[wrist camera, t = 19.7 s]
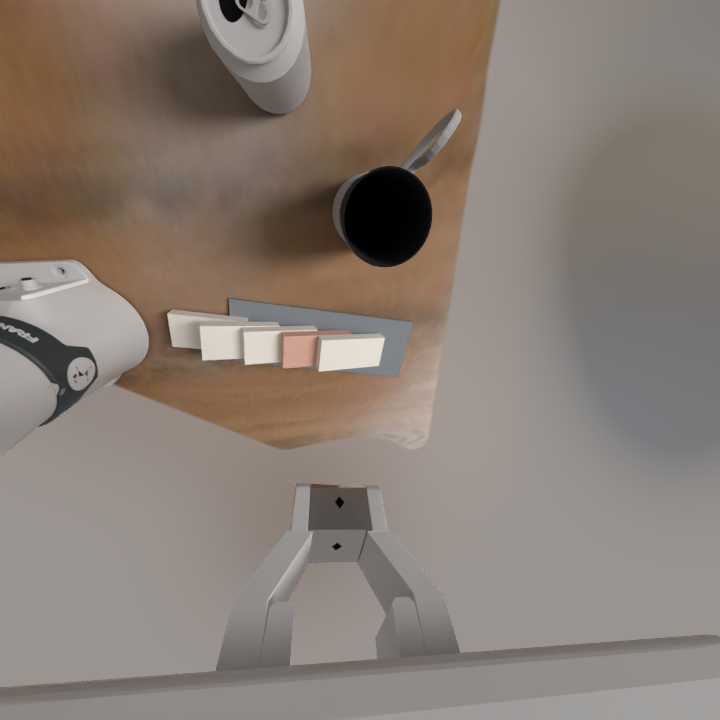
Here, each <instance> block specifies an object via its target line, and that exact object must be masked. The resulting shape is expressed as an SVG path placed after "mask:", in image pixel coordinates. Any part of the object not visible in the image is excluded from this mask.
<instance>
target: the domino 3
mask: <svg viewBox="0 0 720 720" xmlns="http://www.w3.org/2000/svg"><path fill="white" fill-rule="evenodd" d="M289 331H317V329H316V327H315V326H268V327H243V351H244V363H245V365H250V364H263V363H277V362H281V345H282V332H289Z"/></svg>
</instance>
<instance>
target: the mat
mask: <svg viewBox="0 0 720 720" xmlns="http://www.w3.org/2000/svg"><path fill="white" fill-rule="evenodd" d="M229 314H230V316H235V317H244V318H248V322H278V323H279V325H280V326H315V327H316V329H317V331H325V330H349V331H350V332H351V333H352V334H376V333H380V334H381V335H383V336H384V337H385V340H384V345H383V349H382V354H381V359H380V363H379V366H374V367H363V368H352V369H341V370H331V371H342V372H352V373H363V374H374V375H384V376H395V377H398V375H399V371H400V368H401V364H402V360H403V357H404V353H405V350H406V346H407V342H408V339H409V335H410V331H411V328H412V324H413V322H411V321H403V320H396V319H388V318H380V317H372V316H365V315H357V314H349V313H341V312H334V311H326V310H318V309H311V308H303V307H295V306H287V305H280V304H272V303H264V302H256V301H249V300H241V299H233V298H229ZM232 361H236V362H244V358H243V359H232ZM263 364H268V365H278V366H282V364H281V362H277V363H263ZM299 368H310V369H317V368H316V366H308V367H299Z"/></svg>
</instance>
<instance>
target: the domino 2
mask: <svg viewBox="0 0 720 720" xmlns="http://www.w3.org/2000/svg"><path fill="white" fill-rule="evenodd" d="M268 326H280V325H279V323H278V322H227V321H200V337H201V348H202V359H203V360H223V359H243V358H244V351H243V327H268Z"/></svg>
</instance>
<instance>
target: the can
mask: <svg viewBox="0 0 720 720" xmlns="http://www.w3.org/2000/svg"><path fill="white" fill-rule="evenodd" d="M196 3H197V8H198V13H199V18H200V23H201V25H202V28H203V30H204V32H205V34H206V37H207V39H208V41H209V44H210V46H211V47H212V48H213V50H214V51H215V53H216V54H217V55H218V57H219V58H220V59H221V61H222V62H223V64H224V65H225V66H226V67H227V69H228V70H229V71H230V73H231V74H232V75H233V77H234V78H235V79H236V81H237V82H238V83H239V84H240V86H241V87H242V88H243V90H244V91H245V92H246V94H247V95H248V96H249V98H250V99H251V100H252V101H253V102H254V103H255V104H256V105H258V106H259V107H260V108H261V109H263V110H265V111H268V112H270V113H273V114H286V113H288V112H291V111H293V110H295V109H296V108H297V107H298V106H299V105H300V104H301V103H302V102H303V101H304V99H305V97H306V95H307V92H308V90H309V87H310V80H311V62H310V52H309V45H308V37H307V29H306V21H305V13H304V5H303V0H196Z"/></svg>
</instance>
